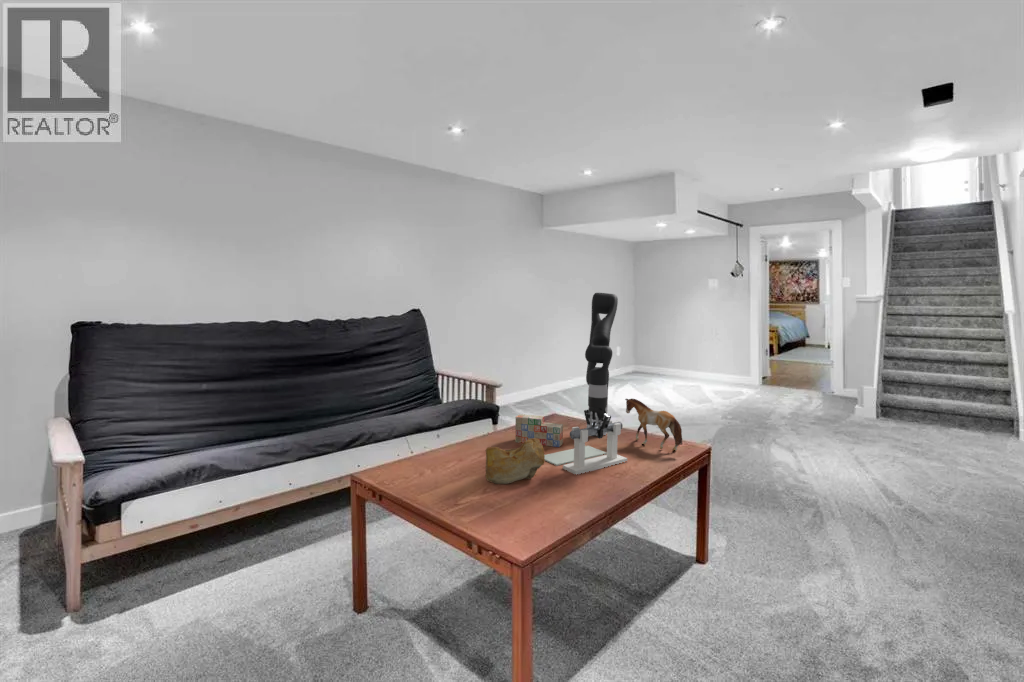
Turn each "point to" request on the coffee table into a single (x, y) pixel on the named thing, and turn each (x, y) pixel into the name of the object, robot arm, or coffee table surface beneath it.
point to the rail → (592, 430)
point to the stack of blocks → (538, 430)
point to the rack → (597, 462)
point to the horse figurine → (655, 421)
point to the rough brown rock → (514, 462)
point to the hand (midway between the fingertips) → (596, 436)
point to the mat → (571, 455)
